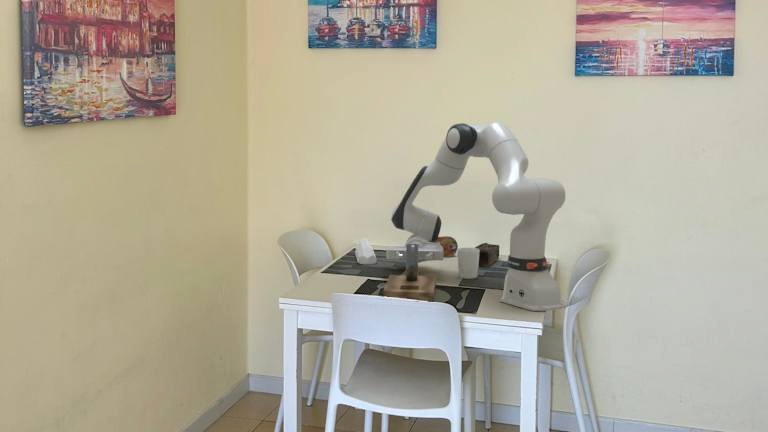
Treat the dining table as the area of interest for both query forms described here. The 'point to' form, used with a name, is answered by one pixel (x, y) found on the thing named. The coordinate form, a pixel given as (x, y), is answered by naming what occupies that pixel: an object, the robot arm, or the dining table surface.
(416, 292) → the socket block
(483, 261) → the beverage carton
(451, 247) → the tin
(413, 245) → the pin
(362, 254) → the white rounded block
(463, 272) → the white cup
